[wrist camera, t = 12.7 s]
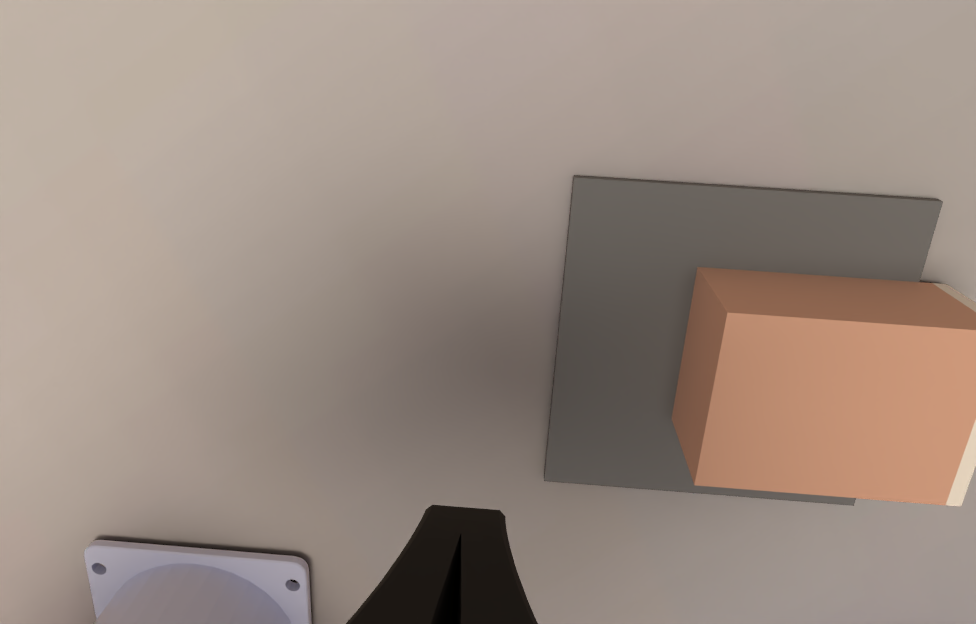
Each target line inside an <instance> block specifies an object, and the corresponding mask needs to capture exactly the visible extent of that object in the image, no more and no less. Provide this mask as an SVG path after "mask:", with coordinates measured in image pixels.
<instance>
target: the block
mask: <svg viewBox="0 0 976 624" xmlns="http://www.w3.org/2000/svg"><path fill="white" fill-rule="evenodd" d="M672 422H673V425H674V427H675V430H676V433H677V436H678V439H679V442H680V445H681V448H682V451H683V454H684V456H685V459H686V462H687V465H688V468H689V471H690V474H691V477H692V480H693V483H694V485H697V486H709V487H722V488H734V489H747V490H760V491H772V492H785V493H798V494H810V495H823V496H836V497H848V498H861V499H873V500H886V501H899V502H911V503H924V504H937V505H949V506H961V505H962V502H963V499H964V497H965V494H966V491H967V488H968V485H969V483H970V480H971V477H972V474H973V472H974V469H975V466H976V303H975V302H973V301H972V300H970V299H969V298H967V297H966V296H964V295H963V294H961V293H959V292H958V291H956V290H955V289H953V288H952V287H950V286H949V285H947V284H938V283H923V282H909V281H894V280H880V279H865V278H851V277H836V276H822V275H807V274H793V273H778V272H764V271H749V270H735V269H720V268H706V267H697V272H696V278H695V284H694V290H693V296H692V302H691V308H690V313H689V319H688V325H687V331H686V337H685V343H684V349H683V354H682V360H681V366H680V372H679V378H678V384H677V390H676V396H675V401H674V407H673V413H672Z"/></svg>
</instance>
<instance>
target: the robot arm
mask: <svg viewBox="0 0 976 624" xmlns="http://www.w3.org/2000/svg"><path fill="white" fill-rule="evenodd" d="M84 558H85V563H86V569H87V574H88V579H89V584H90V589H91V594H92V600H93V605H94V610H95V615H96V621H95V623H94V624H312V621H311V601H310V580H309V567H308V564H307V563H306V561H305V560H303V559H302V558H300V557H296V556H288V555H276V554H264V553H252V552H240V551H228V550H216V549H204V548H193V547H181V546H169V545H157V544H145V543H133V542H121V541H109V540H95V541H93V542H91V543H90V544H89V545H88V547H87V548H86V549H85V551H84ZM99 563H100V564H99ZM101 564H102V565H104V566H105V567H104V566H102V565H101ZM291 579H293V580H296V581H297V582H298V583H294V582H292V581H291ZM346 624H538V623H537V621H536V619H535V617H534V615H533V612H532V610H531V607H530V605H529V603H528V600H527V597H526V595H525V592H524V589H523V587H522V584H521V581H520V579H519V576H518V573H517V570H516V567H515V564H514V560H513V557H512V553H511V549H510V546H509V541H508V537H507V531H506V524H505V516H504V515H503V513H502V512H501V511H500V510H489V509H477V508H465V507H452V506H440V505H432V506H430V507H429V508H428V509H426V511H425V513H424V515H423V517H422V519H421V521H420V523H419V525H418V527H417V528H416V530H415V532H414V533H413V535H412V537H411V538H410V540H409V542H408V543H407V545H406V546H405V548H404V549H403V551H402V552H401V554H400V555H399V557H398V558H397V560H396V561H395V562H394V564H393V565H392V567H391V568H390V569H389V571H388V572H387V574H386V575H385V576H384V578H383V579H382V581H381V582H380V583H379V585H378V586H377V587H376V588H375V590H374V591H373V592H372V593H371V594H370V596H369V597H368V598H367V599H366V601H365V602H364V603H363V604H362V605H361V607H360V608H359V609H358V610H357V612H356V613H355V614H354V615H353V616H352V617H351V619H350V620H349V621H348V622H347V623H346Z"/></svg>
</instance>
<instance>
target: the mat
mask: <svg viewBox="0 0 976 624" xmlns="http://www.w3.org/2000/svg"><path fill="white" fill-rule="evenodd" d="M942 203H943V201H941V200H938V199H929V198H914V197H898V196H883V195H868V194H852V193H837V192H821V191H806V190H791V189H775V188H760V187H744V186H729V185H714V184H698V183H683V182H667V181H652V180H637V179H621V178H606V177H590V176H575V175H574V177H573V187H572V198H571V208H570V218H569V228H568V238H567V249H566V259H565V269H564V279H563V289H562V300H561V310H560V320H559V330H558V341H557V351H556V361H555V371H554V381H553V392H552V402H551V412H550V422H549V432H548V443H547V453H546V463H545V473H544V481H550V482H563V483H575V484H588V485H601V486H613V487H626V488H638V489H651V490H664V491H676V492H689V493H701V494H714V495H727V496H739V497H752V498H764V499H777V500H790V501H802V502H815V503H827V504H840V505H853V506H854V503H855V500H856V498H848V497H836V496H823V495H810V494H798V493H785V492H772V491H760V490H747V489H734V488H722V487H709V486H697V485H694V483H693V480H692V477H691V474H690V471H689V468H688V465H687V462H686V459H685V456H684V454H683V451H682V448H681V445H680V442H679V439H678V436H677V433H676V430H675V427H674V425H673V422H672V413H673V407H674V401H675V396H676V390H677V384H678V378H679V372H680V366H681V360H682V354H683V349H684V343H685V337H686V331H687V325H688V319H689V313H690V308H691V302H692V296H693V290H694V284H695V278H696V272H697V267H706V268H720V269H735V270H749V271H764V272H778V273H793V274H807V275H822V276H836V277H851V278H865V279H880V280H894V281H909V282H920V278H921V275H922V271H923V268H924V265H925V261H926V258H927V254H928V251H929V248H930V244H931V241H932V237H933V234H934V230H935V227H936V224H937V220H938V217H939V213H940V210H941V207H942Z"/></svg>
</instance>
